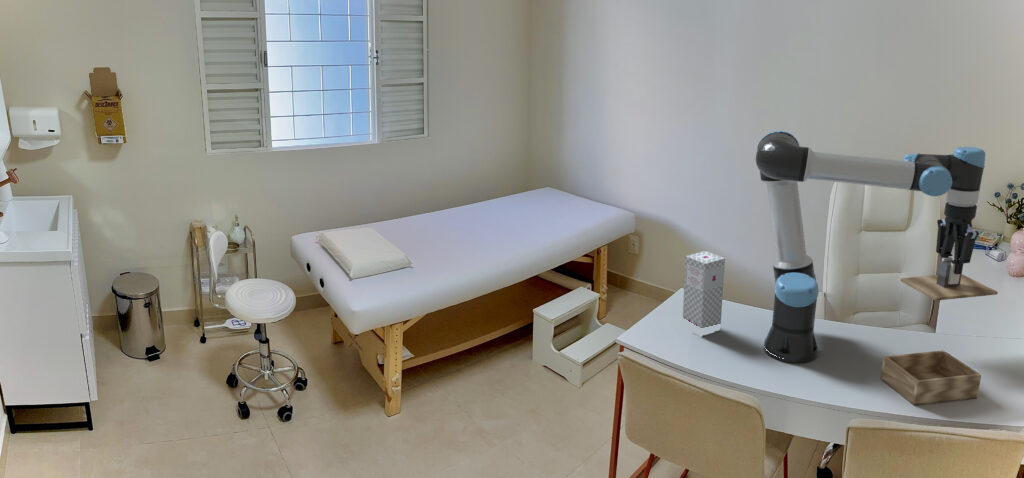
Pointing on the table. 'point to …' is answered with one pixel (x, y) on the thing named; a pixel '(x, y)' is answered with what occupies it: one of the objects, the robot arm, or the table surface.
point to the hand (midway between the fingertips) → (948, 281)
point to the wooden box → (930, 377)
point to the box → (703, 289)
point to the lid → (947, 285)
